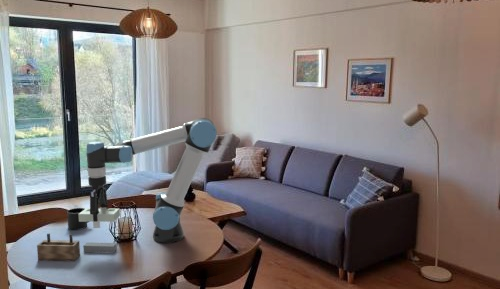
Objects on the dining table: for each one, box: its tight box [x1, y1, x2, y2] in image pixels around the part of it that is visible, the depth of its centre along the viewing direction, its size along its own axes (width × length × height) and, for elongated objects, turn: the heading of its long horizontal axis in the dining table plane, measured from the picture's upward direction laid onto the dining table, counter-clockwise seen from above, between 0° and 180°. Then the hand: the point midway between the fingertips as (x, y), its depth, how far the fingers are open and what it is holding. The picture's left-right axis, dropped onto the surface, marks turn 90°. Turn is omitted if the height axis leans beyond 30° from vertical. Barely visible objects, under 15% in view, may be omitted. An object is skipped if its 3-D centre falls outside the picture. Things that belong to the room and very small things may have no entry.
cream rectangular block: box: [78, 208, 121, 223], centre depth 194 cm, size 16×8×4 cm, turn 89°
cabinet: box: [36, 233, 81, 262], centre depth 188 cm, size 16×6×10 cm, turn 89°
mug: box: [66, 207, 89, 231], centre depth 227 cm, size 9×12×9 cm
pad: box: [82, 241, 118, 254], centre depth 197 cm, size 14×4×3 cm, turn 89°
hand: (100, 224), depth 195 cm, fingers closed on cream rectangular block, 8 cm apart
